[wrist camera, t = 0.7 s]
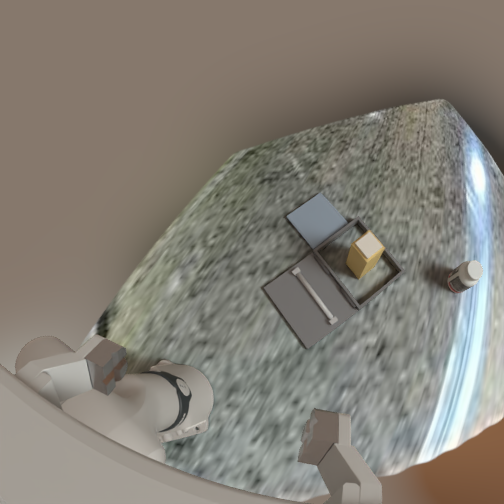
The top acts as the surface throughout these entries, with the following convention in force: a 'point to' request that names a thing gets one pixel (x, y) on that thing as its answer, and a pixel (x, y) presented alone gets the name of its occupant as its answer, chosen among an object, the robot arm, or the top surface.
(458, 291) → the pill bottle
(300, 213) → the mat
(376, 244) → the block
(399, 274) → the case
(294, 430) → the top surface
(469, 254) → the top surface
